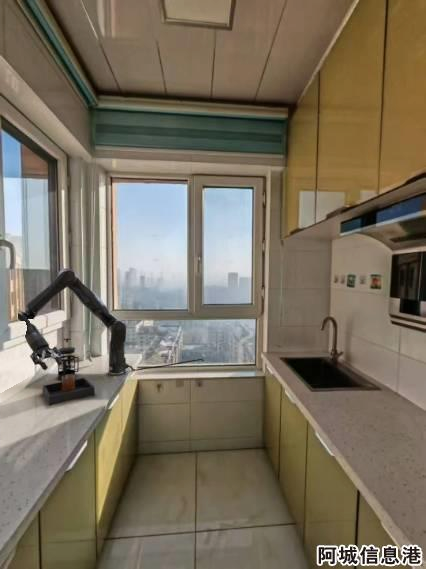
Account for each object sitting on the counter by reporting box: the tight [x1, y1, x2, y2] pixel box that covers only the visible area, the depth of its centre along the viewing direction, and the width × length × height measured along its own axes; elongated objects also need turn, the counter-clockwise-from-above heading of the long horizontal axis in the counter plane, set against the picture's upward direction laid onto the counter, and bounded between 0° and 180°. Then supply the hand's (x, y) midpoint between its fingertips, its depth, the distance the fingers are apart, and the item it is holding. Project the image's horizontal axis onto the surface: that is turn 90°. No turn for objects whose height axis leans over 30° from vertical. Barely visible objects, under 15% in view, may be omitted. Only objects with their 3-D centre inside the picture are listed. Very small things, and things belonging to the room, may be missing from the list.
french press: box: [57, 337, 80, 381], centre depth 168 cm, size 12×9×23 cm
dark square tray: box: [41, 377, 95, 406], centre depth 142 cm, size 20×17×5 cm
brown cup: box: [61, 374, 76, 393], centre depth 142 cm, size 6×6×9 cm
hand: (53, 366), depth 145 cm, fingers open, 8 cm apart
